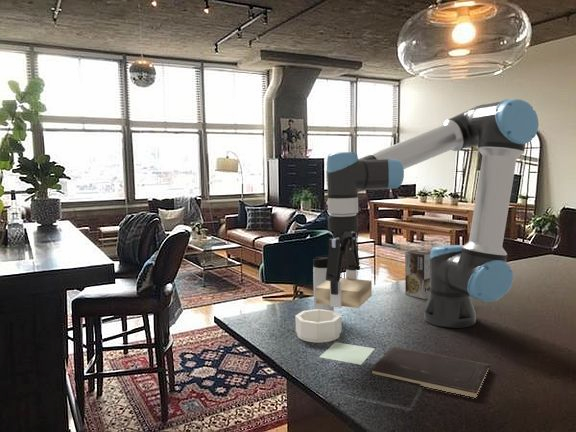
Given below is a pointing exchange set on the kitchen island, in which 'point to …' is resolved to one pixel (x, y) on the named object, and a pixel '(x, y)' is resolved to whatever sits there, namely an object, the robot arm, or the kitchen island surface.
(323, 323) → the bowl
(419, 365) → the hardcover book
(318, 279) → the travel mug
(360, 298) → the tan box
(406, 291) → the coffee box
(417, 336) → the kitchen island surface
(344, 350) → the mat
